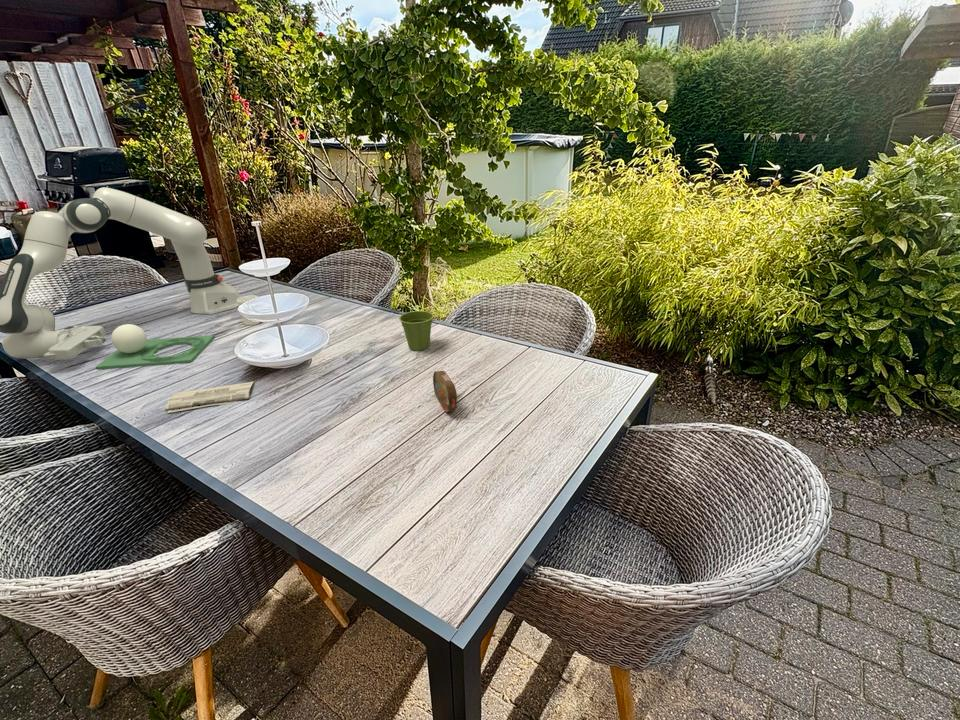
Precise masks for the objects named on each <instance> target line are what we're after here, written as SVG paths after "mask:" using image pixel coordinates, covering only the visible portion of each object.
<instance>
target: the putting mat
mask: <svg viewBox="0 0 960 720" xmlns="http://www.w3.org/2000/svg"><path fill="white" fill-rule="evenodd" d="M215 338H216V337H215V335H214V334H213V335H211V334H210V335H209V334H208V335H197V336H196V335H195V336H183V337H182V336H181V337H168V338H167V337H166V338H154V339H153V338H152V339H147V342H146V345H145V346H144V347H143V349H141V350H140V351H138V352H135V353H124V352H121V351H119V350H117V349H116V351H114V352H112V354H110V355H109V356H108V357H107V358H104V360H103V361H101V362H100V363H99V364H97V365H95V369H98V370H108V369H109V370H110V369H123V368H137V367H152V366H162V365H163V366H164V365H166V364H167V365H176V364H175V363H181V364H191V362H192V361H193V360H194V359H195V358H196V359H197V357H198V356H200V354H201V353H202V352H203V351H204V350H205V349H206V348H207V347H208V346H209V345H210V344H211V342H213V340H215ZM178 345H179V346H180V345H189V346H191V348H189V349H188V350H186V351H184V352H181V353H177V354H173V355H168V356H165V355H164V356H159V355H156V354H157V353H158V352H159V350H160V351H162V350H164V349H166V348H169V347H174V346H178ZM154 354H155V355H154ZM196 359H195V360H196ZM195 360H194V361H195ZM192 363H193V362H192Z"/></svg>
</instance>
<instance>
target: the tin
mask: <svg viewBox="0 0 960 720" xmlns="http://www.w3.org/2000/svg"><path fill="white" fill-rule="evenodd" d="M432 384H433V392H434V395H435V398H436V399H437V401H438V402H439V404H440V406H441V408H442V409H443V411H444V412H445V413H449V412H454V411H456V410H457V406H458V405H457V404H458V403H457V402H458V394H457V390H456V389H457V388H456V385H455V383H454V382H453V381H452V379H451V378H450V376H449V375H448V374H447V372H446V371H445V370H438V371H437V370H435V371H434V372H433V374H432Z"/></svg>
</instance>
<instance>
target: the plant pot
mask: <svg viewBox="0 0 960 720" xmlns="http://www.w3.org/2000/svg"><path fill="white" fill-rule="evenodd" d="M433 318H435V315H434V313H433V312H430V311H427V310H412V311H408V312H405V313H402V314H401V315H399V317H398V320H399V321H400V323H401V326H402V327H403V330H404V334H405V338H406V341H407V346H408V348H409V349H410V350H412V351H420V350H421V351H422V350H424V351H425V350H427V349H428V348H429V347H430V344H431V332H432V330H431V329H432V323H433Z"/></svg>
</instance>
